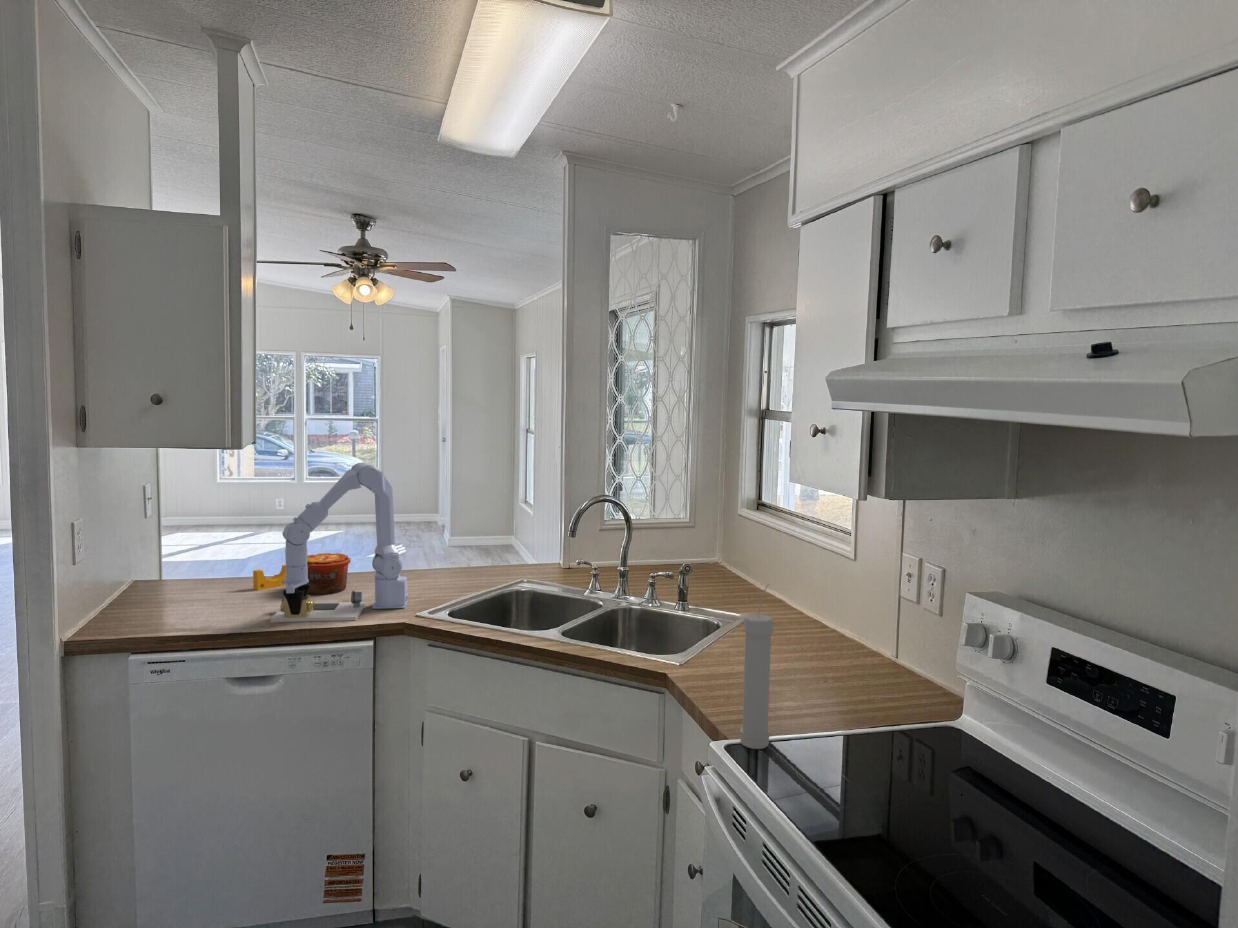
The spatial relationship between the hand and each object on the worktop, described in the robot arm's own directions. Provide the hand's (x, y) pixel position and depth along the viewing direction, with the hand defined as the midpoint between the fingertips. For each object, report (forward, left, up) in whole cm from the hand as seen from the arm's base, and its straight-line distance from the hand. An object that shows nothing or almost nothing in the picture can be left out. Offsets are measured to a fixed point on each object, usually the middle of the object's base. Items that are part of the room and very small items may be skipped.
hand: (297, 611), depth 224 cm
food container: (0, -33, -2) cm, 33 cm away
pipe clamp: (+18, -39, -2) cm, 43 cm away
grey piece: (-106, +91, -2) cm, 140 cm away
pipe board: (-5, -5, -2) cm, 7 cm away
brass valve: (0, 0, -1) cm, 1 cm away
